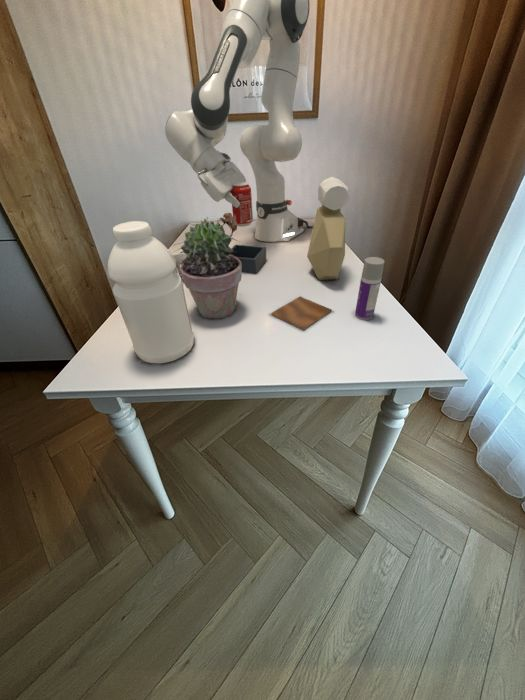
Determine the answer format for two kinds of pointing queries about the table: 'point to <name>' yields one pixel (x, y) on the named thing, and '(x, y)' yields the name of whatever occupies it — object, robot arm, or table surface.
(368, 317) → the container
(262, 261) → the bin
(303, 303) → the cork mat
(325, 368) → the table surface
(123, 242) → the bottle
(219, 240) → the potted plant
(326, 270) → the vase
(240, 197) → the beverage can
